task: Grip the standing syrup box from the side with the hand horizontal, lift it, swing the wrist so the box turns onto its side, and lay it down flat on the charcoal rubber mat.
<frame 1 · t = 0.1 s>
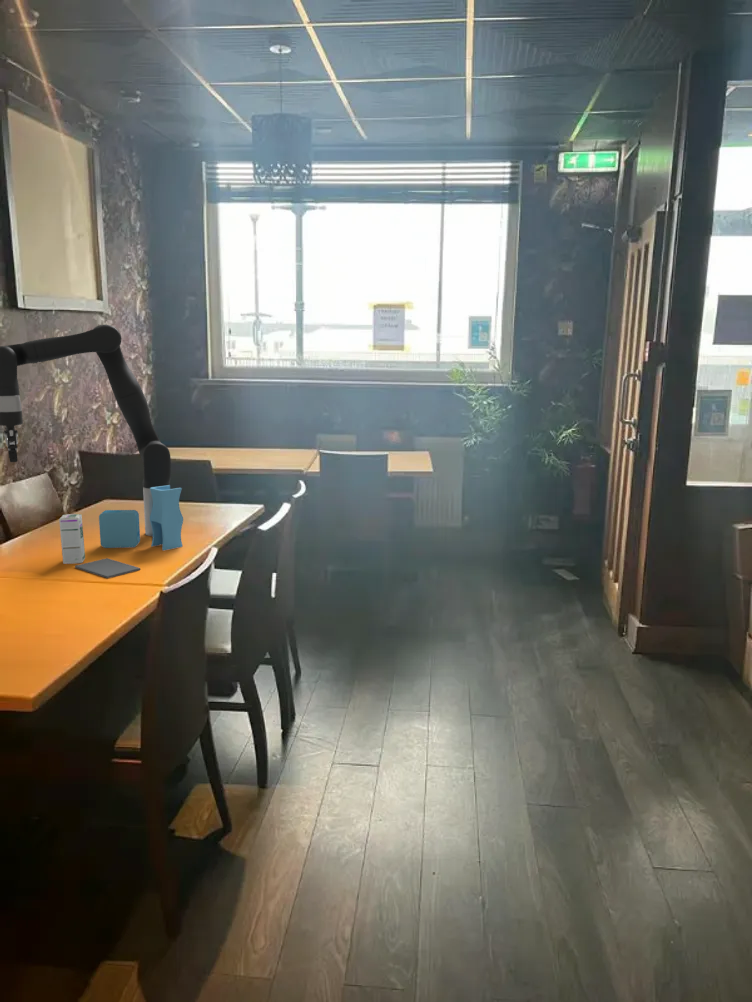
hand: (13, 460, 238), 29 cm above the table, tool pointing down, fingers open, 8 cm apart
syrup box: (74, 561, 228), on the table
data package: (120, 546, 247), on the table
mat: (107, 568, 221), on the table
blue wavy stand: (167, 546, 247), on the table
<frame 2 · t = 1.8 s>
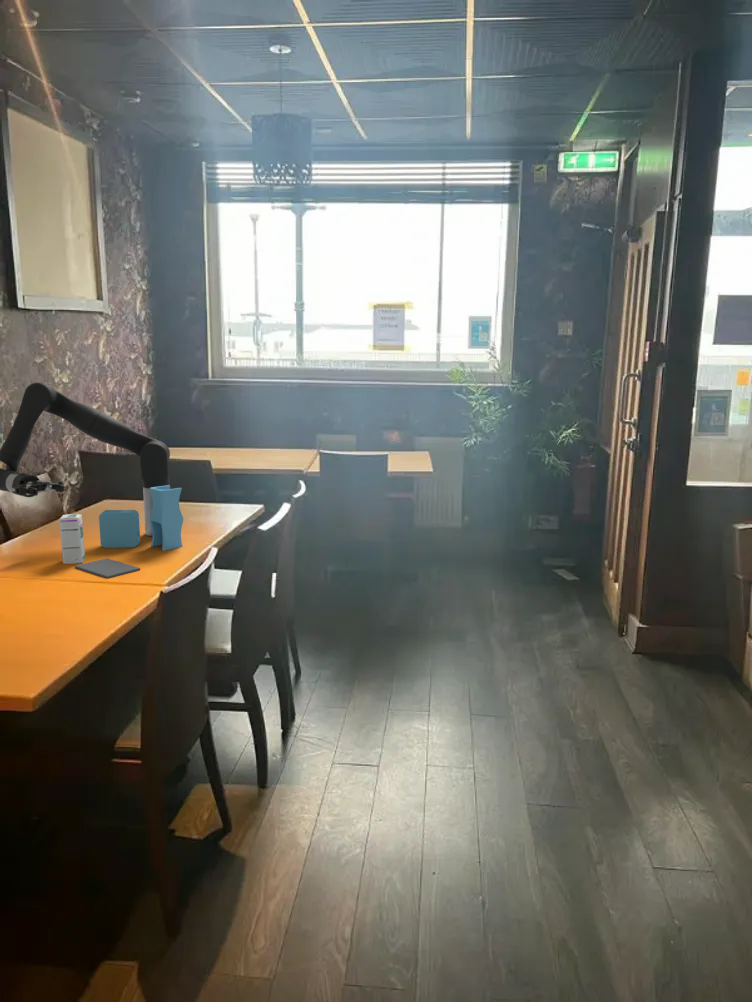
hand: (49, 490, 231), 21 cm above the table, tool horizontal, fingers open, 8 cm apart
nothing on the table moved.
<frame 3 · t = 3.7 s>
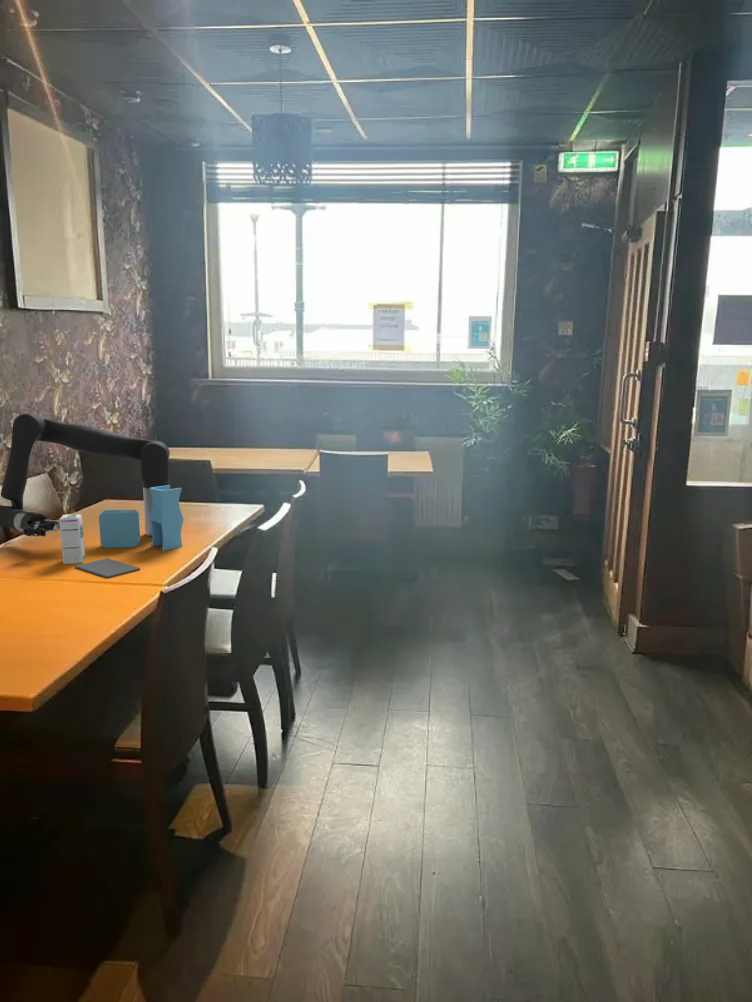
hand: (57, 530, 232), 8 cm above the table, tool horizontal, fingers open, 8 cm apart
nothing on the table moved.
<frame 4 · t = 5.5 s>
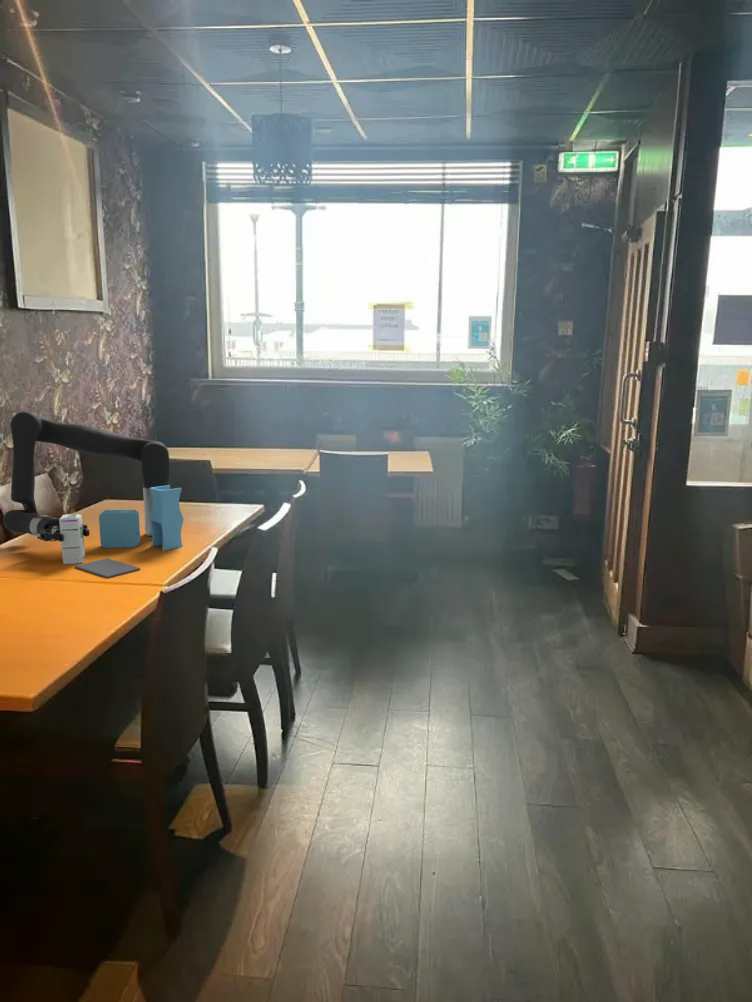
hand: (75, 535, 226), 9 cm above the table, tool horizontal, fingers closed on syrup box, 8 cm apart
syrup box: (74, 561, 228), on the table, touching gripper
everything else where it was.
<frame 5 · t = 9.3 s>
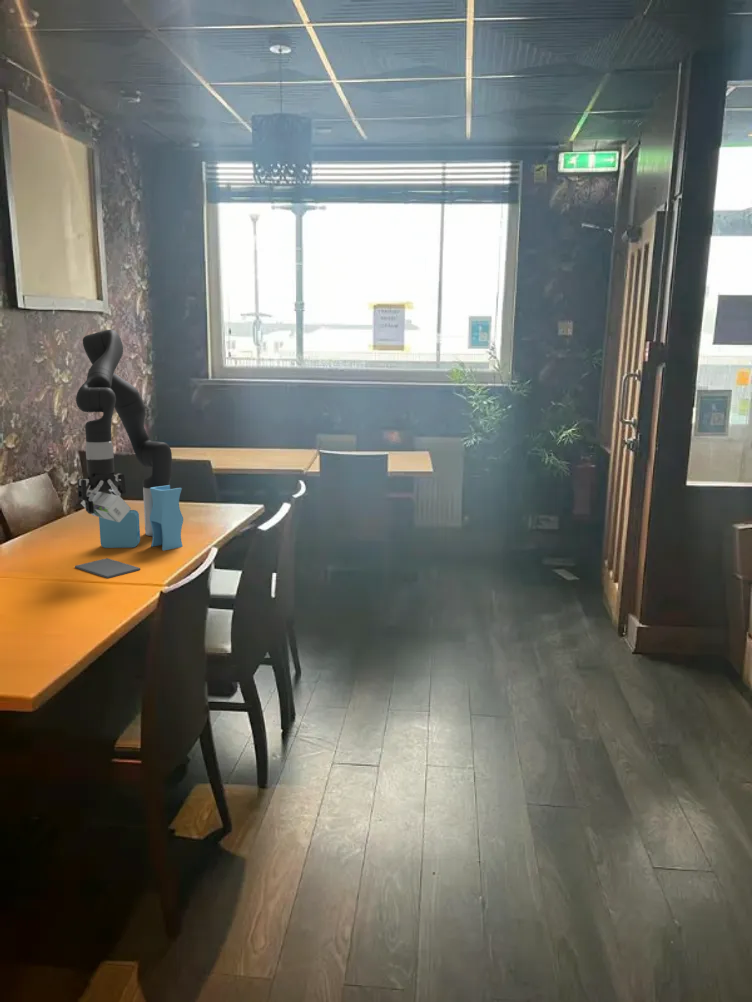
hand: (103, 511, 217), 18 cm above the table, tool pointing down, fingers closed on syrup box, 8 cm apart
syrup box: (120, 509, 212), point 19 cm above the table, touching gripper
everything else where it was.
when the fingers open (4 cm above the table, at t = 12.1 s): syrup box drops 1 cm, resting on mat.
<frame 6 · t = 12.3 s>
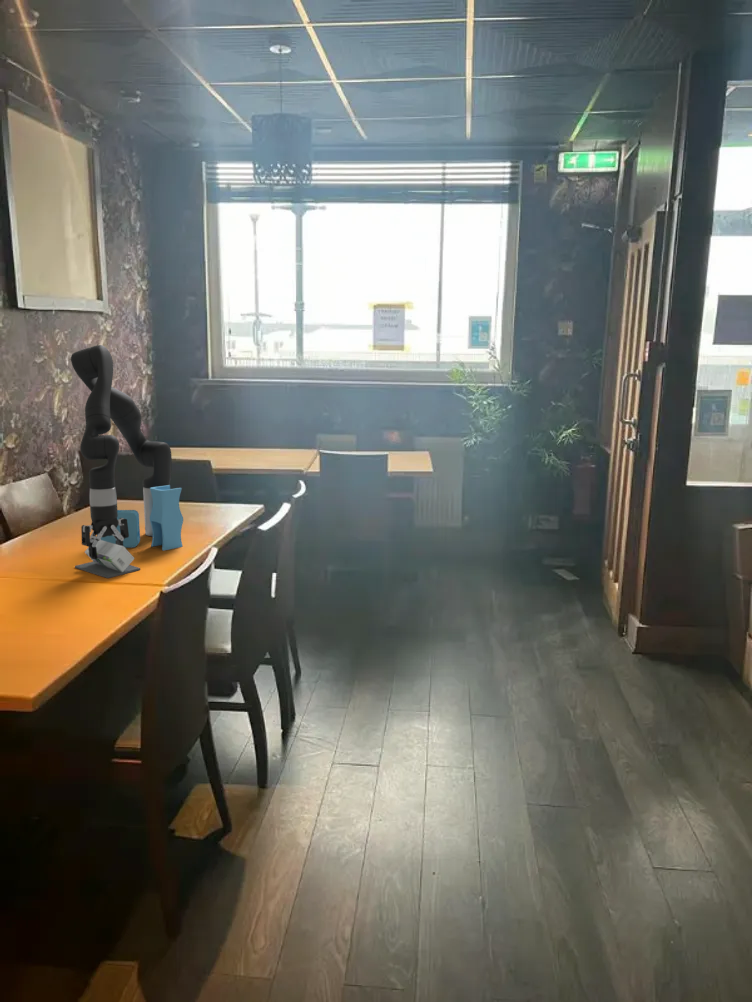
hand: (106, 555, 220), 4 cm above the table, tool pointing down, fingers open, 8 cm apart
syrup box: (124, 559, 215), point 4 cm above the table, touching gripper, mat
everything else where it was.
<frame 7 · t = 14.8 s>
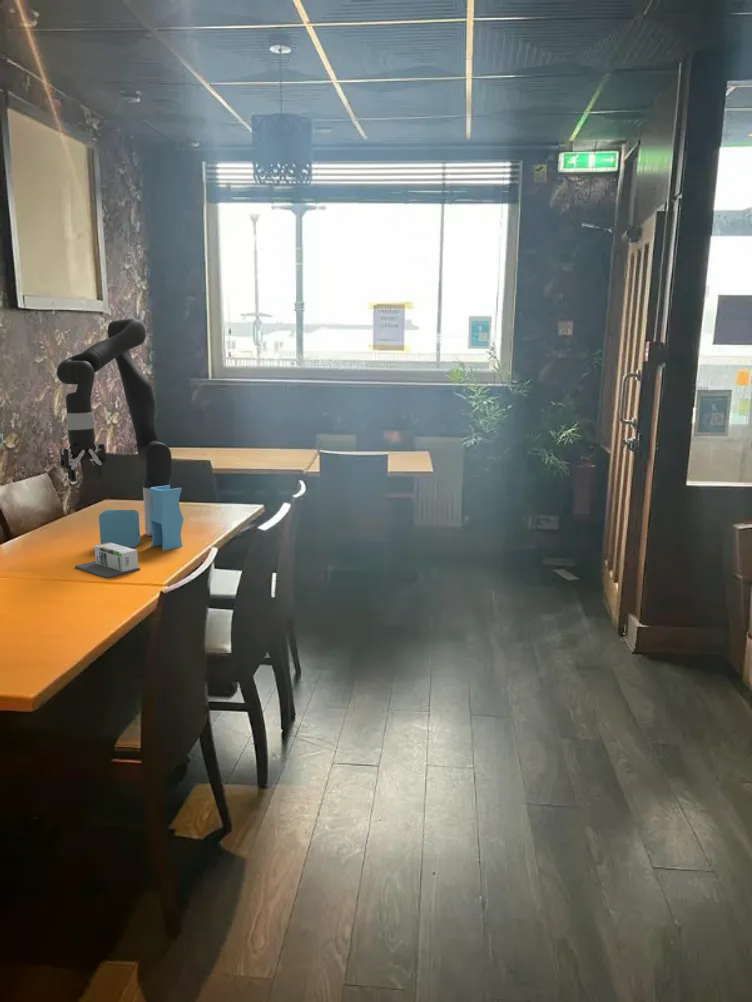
hand: (85, 479, 228), 25 cm above the table, tool pointing down, fingers open, 8 cm apart
syrup box: (130, 561, 217), point 3 cm above the table, touching mat
everything else where it was.
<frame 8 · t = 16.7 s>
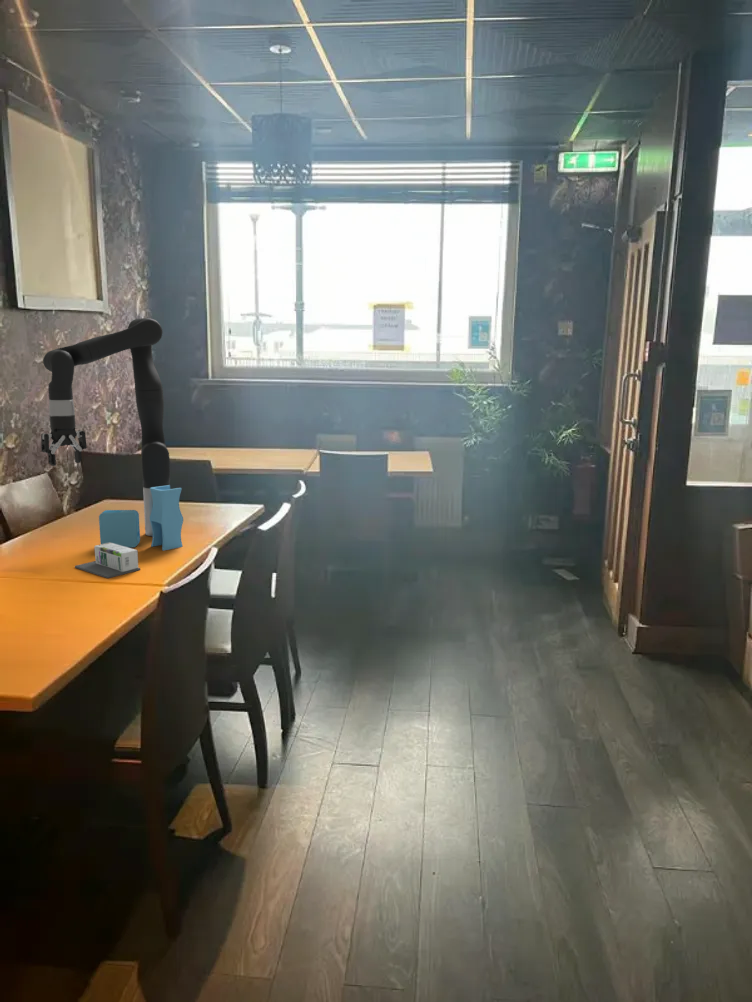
hand: (65, 464, 238), 28 cm above the table, tool pointing down, fingers open, 8 cm apart
nothing on the table moved.
at the end: syrup box tilted 90°; syrup box inside the target area (8.6 cm from its centre), point 3.4 cm above the table; the gripper is holding nothing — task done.
